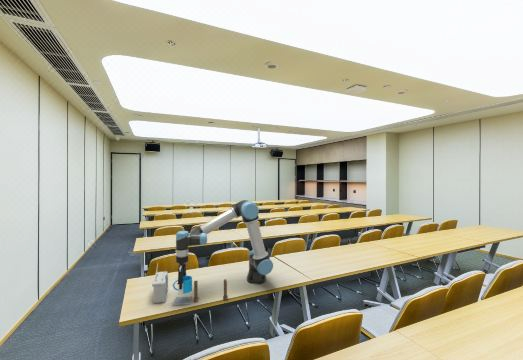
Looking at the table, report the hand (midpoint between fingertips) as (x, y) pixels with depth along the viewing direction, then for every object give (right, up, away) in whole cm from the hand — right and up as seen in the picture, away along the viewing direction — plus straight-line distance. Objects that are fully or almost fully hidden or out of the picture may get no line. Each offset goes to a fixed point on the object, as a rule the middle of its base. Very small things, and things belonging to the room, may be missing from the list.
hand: (182, 290), depth 161 cm
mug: (0, -1, 0) cm, 1 cm away
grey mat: (0, -7, 0) cm, 7 cm away
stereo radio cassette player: (-17, -7, +7) cm, 20 cm away
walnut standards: (+18, -7, +2) cm, 19 cm away
